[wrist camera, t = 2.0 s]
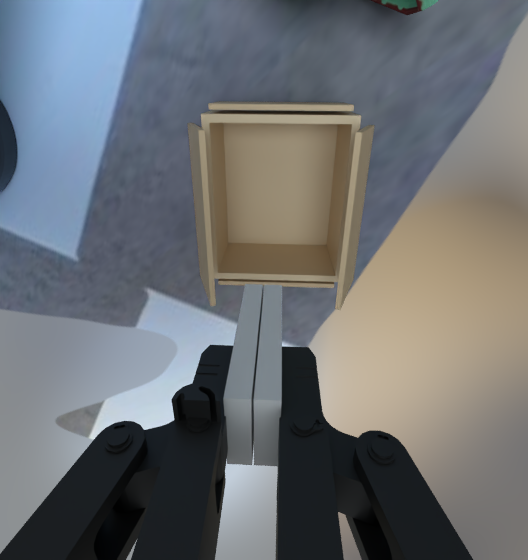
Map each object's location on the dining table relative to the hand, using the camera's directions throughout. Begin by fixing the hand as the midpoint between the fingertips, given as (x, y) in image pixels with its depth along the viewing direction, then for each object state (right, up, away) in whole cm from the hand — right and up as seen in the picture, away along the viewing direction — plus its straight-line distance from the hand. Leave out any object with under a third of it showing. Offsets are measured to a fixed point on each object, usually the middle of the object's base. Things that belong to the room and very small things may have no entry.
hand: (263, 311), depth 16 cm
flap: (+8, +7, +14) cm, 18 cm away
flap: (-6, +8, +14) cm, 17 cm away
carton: (+2, +11, +22) cm, 24 cm away
